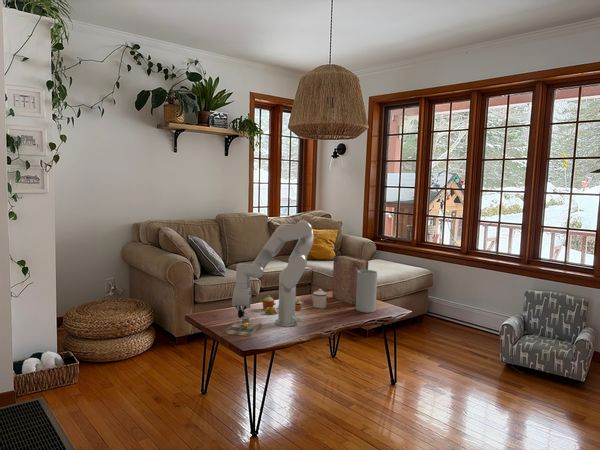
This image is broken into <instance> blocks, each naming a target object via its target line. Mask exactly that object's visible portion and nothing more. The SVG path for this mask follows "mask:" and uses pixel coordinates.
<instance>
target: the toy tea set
mask: <svg viewBox="0 0 600 450" xmlns="http://www.w3.org/2000/svg"><path fill="white" fill-rule="evenodd" d="M260 303H262V309H263V311H264V310H265V312H264V313H265V314H266V315H268V316H269V315H277V314H278V311H277V310H276V307H275V306H276V302H275V299H274V298H273V297H271V296H270V295H269V294H268V295H266V297H264V298H262V299H260ZM302 305H303V301H301V300H300V299H299V298H296V303H295V312H301V310H302ZM277 309H278V310H279V304H278V305H277Z"/></svg>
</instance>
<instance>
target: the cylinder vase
mask: <svg viewBox="0 0 600 450" xmlns="http://www.w3.org/2000/svg"><path fill="white" fill-rule="evenodd" d="M377 285H378V271H376V270H373V269H372V270H370V269H368V270H358V271H357V293H356V306H355V310H356V311H357V312H358V313H359V312H360V313H366V314H368V313H374V312H375V311H376V308H377V307H376V305H377V304H376V303H377V289H378V288H377V287H378V286H377Z"/></svg>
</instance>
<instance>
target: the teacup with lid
mask: <svg viewBox="0 0 600 450" xmlns="http://www.w3.org/2000/svg"><path fill="white" fill-rule="evenodd" d="M327 295H328V294H327V292H325V291H324V290H322V288H318V289H317V290H316V291H314V292H313V293H312V294H310V301H311V302H312V307H313V308H316V309H325V308H326V307H327Z"/></svg>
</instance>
